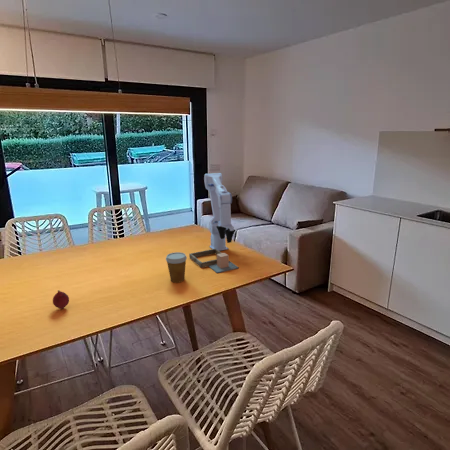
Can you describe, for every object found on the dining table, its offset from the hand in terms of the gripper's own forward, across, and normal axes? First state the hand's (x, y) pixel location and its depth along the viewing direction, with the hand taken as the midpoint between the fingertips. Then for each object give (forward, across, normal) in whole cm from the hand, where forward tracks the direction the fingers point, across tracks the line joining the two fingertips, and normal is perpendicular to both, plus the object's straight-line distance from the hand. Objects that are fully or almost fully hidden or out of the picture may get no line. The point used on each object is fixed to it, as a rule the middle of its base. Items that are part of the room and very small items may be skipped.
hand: (225, 240), depth 183 cm
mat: (+9, +12, -8) cm, 17 cm away
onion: (+10, +16, -82) cm, 84 cm away
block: (+9, +12, -8) cm, 17 cm away
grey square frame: (+9, -1, -10) cm, 14 cm away
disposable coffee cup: (+10, +14, -33) cm, 37 cm away
